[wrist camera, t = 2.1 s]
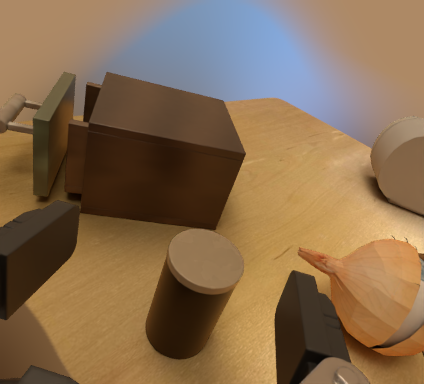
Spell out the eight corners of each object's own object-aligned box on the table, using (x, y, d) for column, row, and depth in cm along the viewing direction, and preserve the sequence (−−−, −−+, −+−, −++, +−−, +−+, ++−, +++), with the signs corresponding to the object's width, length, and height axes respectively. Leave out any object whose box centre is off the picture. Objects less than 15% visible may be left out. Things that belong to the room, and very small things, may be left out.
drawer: (-20, 187, 29) (-29, 105, 25) (21, 129, 38) (19, 61, 34) (167, 213, 34) (186, 147, 30) (164, 155, 43) (179, 99, 39)
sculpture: (539, 357, 22) (359, 220, 22) (424, 418, 26) (271, 302, 26) (474, 277, 31) (344, 178, 30) (395, 332, 34) (279, 244, 34)
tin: (134, 345, 23) (157, 269, 19) (157, 291, 27) (181, 219, 23) (200, 370, 23) (239, 300, 19) (213, 312, 27) (248, 244, 23)
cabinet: (79, 212, 32) (88, 122, 26) (97, 147, 42) (106, 71, 36) (215, 230, 35) (246, 153, 30) (201, 166, 45) (223, 100, 40)
